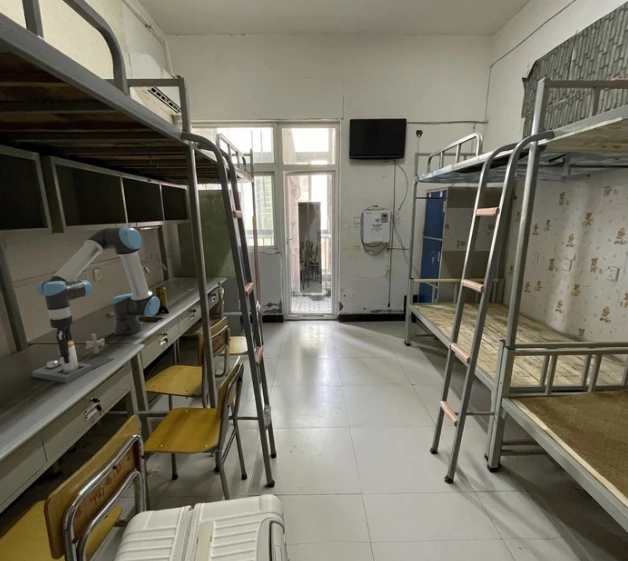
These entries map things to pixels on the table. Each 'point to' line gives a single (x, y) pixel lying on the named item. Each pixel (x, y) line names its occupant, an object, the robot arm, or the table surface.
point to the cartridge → (73, 358)
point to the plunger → (52, 364)
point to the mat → (98, 361)
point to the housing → (61, 372)
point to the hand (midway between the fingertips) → (70, 366)
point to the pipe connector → (95, 343)
